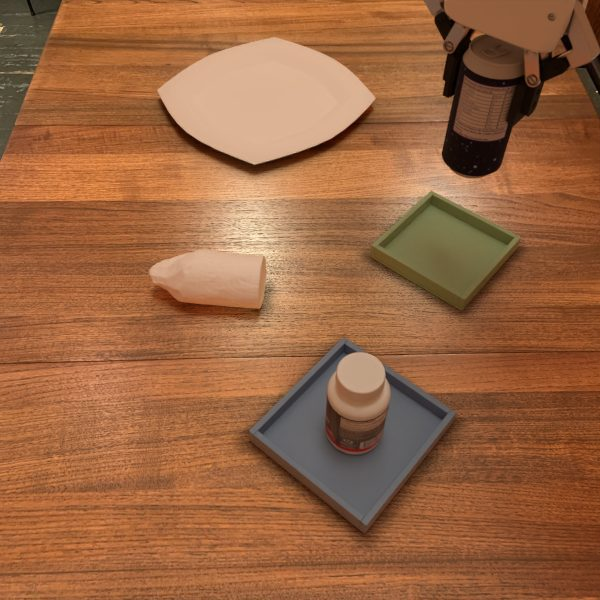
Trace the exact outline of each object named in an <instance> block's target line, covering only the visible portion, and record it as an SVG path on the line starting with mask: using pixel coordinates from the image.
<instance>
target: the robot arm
mask: <svg viewBox="0 0 600 600" xmlns="http://www.w3.org/2000/svg"><path fill="white" fill-rule="evenodd" d="M423 2H424V4H425V6H426V8H427V9H428V11H429V13H430V14H431V16H432V17H433V18H434V20H433V22H434V25H435V27H436V29H437V31H438V33H439V34H440V36H441V38H442V40H443V43H442V49H443V51H444V52H445V53H446V59H445V63H444V69H443V74H442V80H443V81H444V86H443V90H442V96H443V97H445V98H447V99H449V98H453V97H454V92H455V88H456V83H457V78H458V73H459V69H460V64H461V59H462V56H463V54H464V53H465V52H466V51H467V49H468V48H469V44H470V42H471V41H472V38H473V37H474V34H475V33H476V32H478V33H482V34H483V35H484V34H486V35H489V36H491V37H494V38H497V39H499V40H502V41H505V42H507V43H510V44H513V45H515V46H518V47H521V48H523V51H524V68H525V76H524V78H523V79H522V80H521V81H520V82H518V84H517V86H516V88H515V92H514V95H513V99H512V102H511V106H510V109H509V112H508V116H507V119H506V122H507V124H508V125H511V126H513V127H515V126H516V125H517V124H518V123H519V122H520V121H521V120H522V119H523V118H524V117H530V116H531V115H533V114H534V112H535V110H536V109H537V106H538V103H539V100H540V98H541V94H542V91H543V88H544V85H545V82H547V81H549V80H552V79H554V78H556V77H558V76H561V75H563V74H564V73H566V72H568V71H571V70H574V69H577V68H579V67H582V66H585V65H587V64H589V63H591V62H592V61H594V60H595V59H596V58H597V57H598V56H599V55H600V45H599V42H598V40H597V37H596V35H595V33H594V30H593V28H592V26H591V23H590V21H589V19H588V16H587V14H586V9H587V5H588V3H589V0H423ZM563 36H567V37H568V40H569V42H570V44H571V47H572V48H571V49H570V50H566V51H563V52H561V53H559V54H556V51H555V49H556V48H557V46H558V45H559V43H560V39H562V38H563Z"/></svg>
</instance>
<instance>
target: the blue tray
mask: <svg viewBox="0 0 600 600" xmlns="http://www.w3.org/2000/svg"><path fill="white" fill-rule="evenodd" d="M356 352H363V353H368V352H367V351H366V350H364V349H363V348H361V347H359V346H358V345H356V344H355V343H354V342H352V341H351V340H349V339H348V338H346V337H344V336H343V337H342V338H341V339H340V340H338V341H337V343H336V344H334V345H333V347H332V348H331V349H330V350H328V352H327V353H326V354H324V355H323V357H321V359H320V360H319V361H318V362H316V364H315V365H313V367H311V368H310V369H309V371H308V372H307V373H305V374H304V375H303V377H302V378H301V379H300V380H298V381H297V382H296V383H295V384H294V385H293V386H292V388H291V389H289V390H288V391H287V393H285V395H283V396H282V397H281V398H280V399H279V400H278V401H277V402H276V403H275V404H274V405H273V406H272V407H271V408H270V409H269V410H268V411H267V412H266V413H265V414H264V415H263V416H262V417H261V418H260V419H259V420H258V421H257V422H256V423H255V424H254V425H253V426H252V427H251V428H250V429H249V430H248V437H249V442H250V443H251V444H253V445H254V446H256V447H257V448H258V449H259V450H260V451H261V452H263V453H264V454H265V455H266V456H268V457H269V458H270V459H271V460H273V461H274V462H275V463H276V464H278V465H279V466H280V467H281V468H282V469H284V470H285V471H286V472H287V473H289V474H290V476H292V477H294V478H295V479H296V480H297V481H298V482H300V483H301V484H302V485H303V486H305V487H306V488H307V489H308V490H309V491H311V492H312V493H313V494H314V495H316V496H317V497H318V498H319V499H321V501H323V502H324V503H325V504H326V505H328V506H329V507H330V508H332V509H333V510H334V511H335V512H336V513H338V514H339V515H340V516H342V517H343V518H344V520H346V521H347V522H349V523H350V524H351V525H353V527H355V528H356V529H358V530H359V531H360V532H361V533H362V534H364V535H365V534H366V533H367V532H368V531H369V529H371V528H372V526H373V524H374V523H375V522H376V521H377V519H378V518H379V517H380V516H381V514H382V513H383V512H384V511H385V509H386V508H387V507H388V505H390V503H391V502H392V501H393V499H394V498H395V497H396V496H397V494H398V493H399V491H400V490H401V489H402V488H403V486H404V485H405V484H407V482H408V481H409V479H410V478H411V476H412V475H413V474H414V473H415V472H416V471H417V469H418V467H420V465H421V464H422V462H424V460H425V459H426V458H427V456H428V455H429V454H430V453H431V451H432V450H433V449H434V447H436V445H437V444H438V443H439V442H440V440H441V439H442V438H443V436H444V435H445V434H446V432H448V430H449V428H451V426H452V425H453V424H454V421H455V418H456V415H457V412H456V411H455V410H453V409H451V408H450V407H449V406H448V405H446V404H445V403H443V402H442V401H440V400H439V399H437V398H436V397H434V396H432V395H431V394H429V393H428V392H427V391H425V390H423V389H422V388H421V387H419V386H417V385H416V384H414V383H413V381H410V380H409V379H407V378H405V376H402V375H401V374H400V373H398V372H396V371H395V370H393V369H392V368H391V367H390V366H388V365H386V364H385V363H383V362H382V361H380V362H381V363H382V365H383V366H384V369H385V377H386V379H387V381H388V383H389V386H390V391H391V396H390V403H389V407H388V412H387V416H386V421H385V426H384V431H383V435H382V438H381V440H380V442H379V443H378V445H377V446H376V447H375V448H374V449H372V450H371V451H369V452H367V453H364V454H357V455H352V454H346V453H344V452H342V451H340V450H338V449H337V448H335V447H334V446H333V445H332V444H331V442H330V441H329V439H328V437H327V435H326V431H325V418H326V402H327V387H328V383H329V380H330V378H331V376H332V375H333V374H334V373H335V372H336V371H337V367H338V364H339V362H340V361H341V360H342V359H343V358H344V357H345V356H347V355H349V354H352V353H356Z"/></svg>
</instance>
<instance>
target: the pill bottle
mask: <svg viewBox="0 0 600 600" xmlns="http://www.w3.org/2000/svg"><path fill="white" fill-rule="evenodd" d="M381 362H382V361H381V360H380V359H378V358H377V357H376V356H374V355H373V354H370V353H368V352H367V353H363V352H356V353H352V354H349V355H347V356H345V357H344V358H343V359H342V360H341V361H340V362H339V364H338V367H337V371H336V372H335V373H334V374H333V375H332V376H331V378H330V380H329V383H328V387H327V402H326V418H325V431H326V435H327V437H328V439H329V441H330V442H331V444H332V445H333V446H334V447H335V448H337V449H338V450H340V451H342V452H344V453H346V454H352V455H357V454H364V453H367V452H369V451H371V450H372V449H374V448H375V447H376V446H377V445H378V443H379V442H380V440H381V438H382V435H383V431H384V426H385V421H386V416H387V412H388V407H389V403H390V396H391V391H390V386H389V383H388V381H387V379H386V377H385V369H384V366H383V365H382V363H383V362H382V363H381Z"/></svg>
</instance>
